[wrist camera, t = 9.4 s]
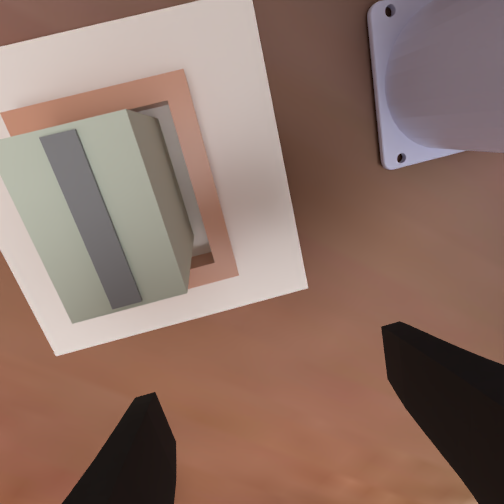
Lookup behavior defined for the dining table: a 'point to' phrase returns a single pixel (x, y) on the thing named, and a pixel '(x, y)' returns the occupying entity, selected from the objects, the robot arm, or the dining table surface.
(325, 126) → the dining table surface
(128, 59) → the duct plate
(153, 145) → the striped green box
